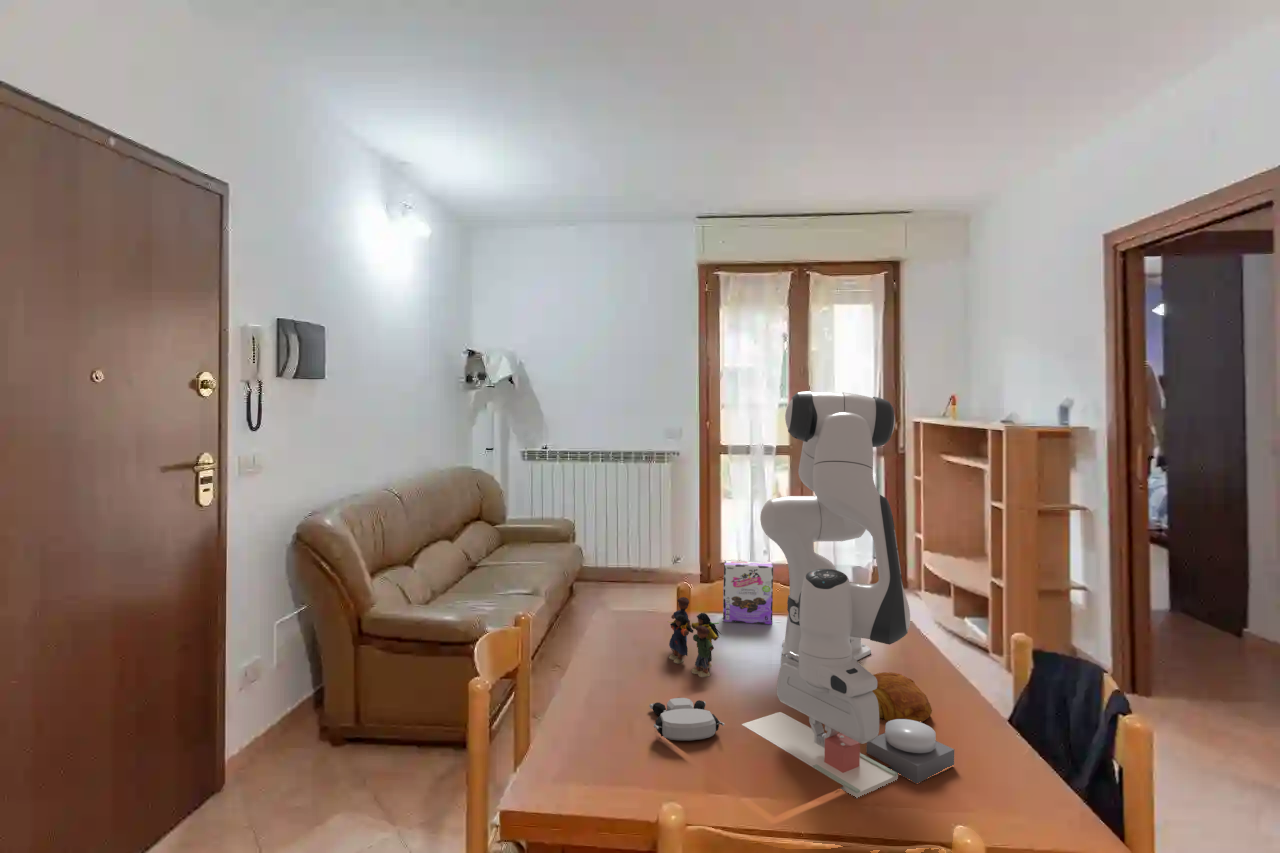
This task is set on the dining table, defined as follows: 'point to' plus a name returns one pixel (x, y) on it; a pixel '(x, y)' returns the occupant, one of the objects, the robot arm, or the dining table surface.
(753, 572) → the candy box
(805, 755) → the board
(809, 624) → the robot arm
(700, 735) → the robot toy
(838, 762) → the red die
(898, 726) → the dome plunger
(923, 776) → the base
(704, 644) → the doll family
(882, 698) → the croissant
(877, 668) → the dining table surface
